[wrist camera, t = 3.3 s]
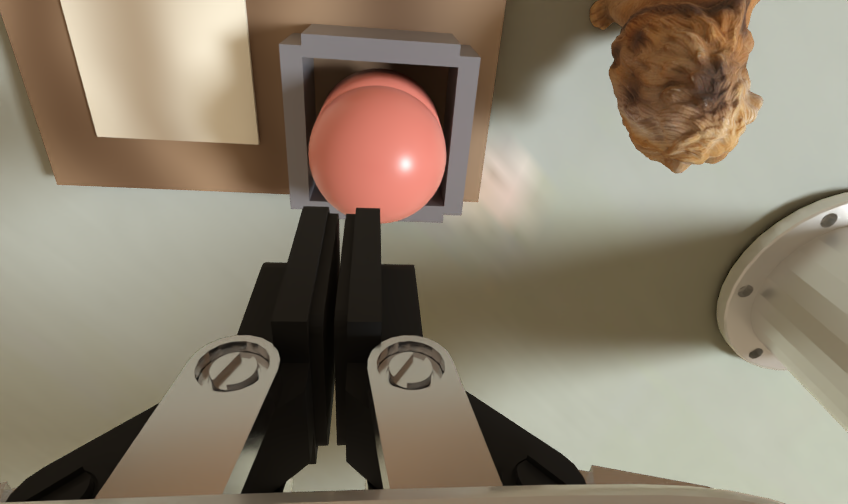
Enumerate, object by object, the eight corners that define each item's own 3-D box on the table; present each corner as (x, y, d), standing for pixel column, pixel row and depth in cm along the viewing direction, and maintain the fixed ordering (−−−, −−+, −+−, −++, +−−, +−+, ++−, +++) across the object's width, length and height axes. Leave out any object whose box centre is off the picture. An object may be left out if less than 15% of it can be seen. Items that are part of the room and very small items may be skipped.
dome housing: (470, 34, 21) (482, 46, 18) (453, 195, 25) (460, 223, 22) (292, 22, 20) (278, 31, 18) (302, 188, 24) (291, 217, 21)
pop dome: (444, 72, 20) (461, 109, 15) (434, 188, 22) (445, 251, 17) (317, 64, 19) (293, 99, 15) (321, 183, 22) (302, 246, 17)
